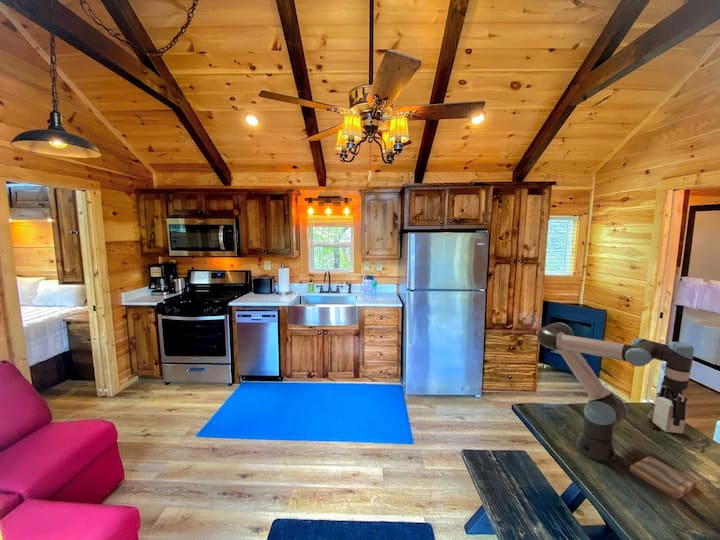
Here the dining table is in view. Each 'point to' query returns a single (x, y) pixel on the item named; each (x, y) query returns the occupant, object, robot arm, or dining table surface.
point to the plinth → (663, 477)
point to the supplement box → (666, 414)
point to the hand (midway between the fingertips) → (667, 424)
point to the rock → (650, 419)
